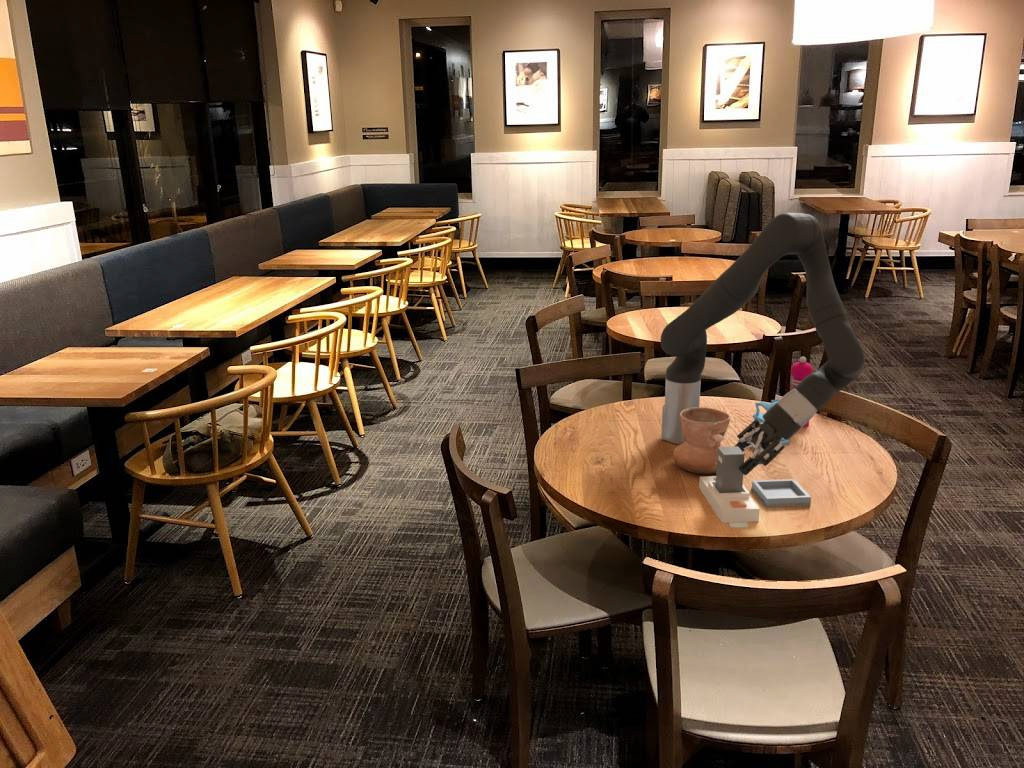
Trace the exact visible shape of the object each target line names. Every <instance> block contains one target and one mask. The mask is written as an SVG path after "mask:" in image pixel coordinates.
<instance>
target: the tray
mask: <svg viewBox="0 0 1024 768" xmlns="http://www.w3.org/2000/svg"><path fill="white" fill-rule="evenodd" d="M751 490H752V491H753V492H754V494H756V496H757V497H758V499H760V501H761V502H762V504H764V506H765V507H766V508H773V507H774V508H775V507H776V508H777V507H795V506H797V507H800V506H801V507H802V506H811V503H812V496H811V495H810V494H809V493H808V492H807V491H806V490H805V489H804V487H803V486H801V485H800V484H799V482H797V480H796V479H794V478H786V479H783V478H782V479H763V480H758V479H757V480H752V481H751Z"/></svg>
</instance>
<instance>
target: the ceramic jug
mask: <svg viewBox="0 0 1024 768" xmlns="http://www.w3.org/2000/svg"><path fill="white" fill-rule="evenodd" d="M680 421H681V426H682V432H683V438H684V443H682V444H678V445H677V446H676V447H675V449H674V450H673V453H672V457H673V458H672V459H673V460H674V462H675V464H676V465H677V466H679V468H681V469H683V470H684V471H687V472H691V473H695V474H703V475H710V474H716V468H717V451H718V447H726V446H725V445H723V444H722V443H721V442H722V441H724V439H725V438H724V437H725V435H726V432H727V431H728V428H729V425H730V423H731V422H730V421H731V416H730V414H729V413H727V412H726V411H724V410H723V411H722V410H719V409H716V408H709V407H705V406H704V407H703V406H699V407H692V408H688V409H684V410H682V411H681V412H680Z"/></svg>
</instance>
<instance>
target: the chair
mask: <svg viewBox="0 0 1024 768" xmlns="http://www.w3.org/2000/svg"><path fill="white" fill-rule="evenodd" d="M779 400H780V399H771V402H770V403H769V402H766V401H760V402H754V403H755V404H754V405H755V407H756V409H755V410H756V412H755V413H753V414H752V418H753V421H754V420H756V419H757V420H758V421H759V422H760V423H761V424H762V423H764V422H765V420H764V419H763V415H764V414H765V413H766V412H767V411H768V410H769V409H770V408H771V407H773V406H774V405H775V404H776V403H777V402H778V401H779ZM760 407H762V408H763V409H764V410H765V411H766V412H763V413H760ZM780 442H781V443H782V444H783V445H784V446H788V445H790V439H789V440H785V439H784V438H781V440H780Z"/></svg>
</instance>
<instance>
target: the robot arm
mask: <svg viewBox="0 0 1024 768" xmlns="http://www.w3.org/2000/svg"><path fill="white" fill-rule="evenodd" d="M787 255H796V256H797V257H798V259H799V260H800V262H801V264H802V266H803V269H804V272H805V276H806V295H805V296H806V297H805V298H806V306H807V310H808V313H809V316H810V318H811V321H812V323H813V326H814V328H815V331H816V332H817V334H818V337H819V338H820V339H821V341H822V342H821V343H822V345H823V347H824V350H825V353H826V355H827V358H828V359H827V360H826V362H825V363H824V364H823V365H822V366H820V367H819V368H818V369H817V370H816V371H813V373H811V374H809V375H808V376H807V377H805V378H804V379H803V380H802V381H801V382H800V383H799V384H798V385H797V386H796V387H795V388H794V389H793V388H792V389H791V390H790V391H788V392H787V393H785V394H784V395H783V396H782V397H781V398H780V399H778V400H779V401H778V402H777V403H776V404H775V405H774V406H773V407H771V408H770V409H769V410H768V411H766V412H764V413H765V414H764V415H763V419H764V420H765V422H764V423H760V422H759V421H758V420H757V419H756V420H754V419H753V421H752V422H751V423H750V424H748V425H747V426H746V427H745V428H744V429H743V430H742V431H741V432H740V433H738V434H737V436H736V437H737V443H736V444H734V446H733V447H735V446H738V447H739V448H740V449H741V450H742V452H743V453H744V452H745V451H746V449H749V448H751V447H753V448H754V451H753V453H752V455H751V456H750V457H748V459H746V460H744V463H743V464H742V465H741V466H740V467H739V470H740V471H741V472H742V473H743V476H747V475H748V474H749V473H750V472H752V471H753V470H754V468H756V467H757V466H758V465H759V466H761V465H763V466H764V467H766V466H768V465H769V464H770V463H771V462H772V461H773V460H774V459H775V458H776V457H777V456H778V455H779V454H780V453H781V452H782V451H783V450H784V449H785V447H786V445H783V444H782V443H781V442H780V440H781V438H783V439H785V440H789V441H790V439H791V438H792V437H793V436H795V435H796V433H798V432H799V431H800V430H801V429H802V427H803V426H804V425H805V424H806V423H807V422H808V421H809V422H810V421H811V419H812V418H813V417H814V416H815V415H816V413H818V411H819V410H821V409H822V408H823V407H824V406H825V405H826V404H827V403H828V402H829V401H830V400H831V399H833V397H834V396H835V395H836V394H837V393H839V392H840V391H842V390H843V389H844V388H846V387H847V386H848V385H849V384H851V383H853V381H854V380H855V379H857V378H858V377H859V376H861V374H862V373H863V371H864V369H865V365H866V356H865V352H864V350H863V348H862V345H861V344H860V342H859V340H858V339H859V338H858V337H857V335H856V333H855V331H854V330H853V328H852V326H851V322H850V319H849V317H848V314H847V312H846V309H845V306H844V304H843V302H842V299H841V297H840V295H839V292H838V288H837V287H836V284H835V280H834V277H833V273H832V269H831V264H830V260H829V256H828V251H827V247H826V241H825V238H824V234H823V230H822V228H821V224H820V223H819V221H818V219H817V218H816V217H815V216H813V215H811V214H809V213H808V214H807V213H801V212H783V213H780V214H777V215H775V216H774V217H773V218H772V219H771V220H770V221H769V222H768V223H767V224H766V226H765V227H764V228H763V229H762V231H761V232H760V233H759V234H758V236H757V237H756V238H755V239H754V241H753V242H751V244H750V246H748V248H747V249H746V250H745V251H744V252H743V253H742V254H741V255H740V256H739V257H738V258H737V259H735V261H734V262H733V263H732V264H731V265H730V266H729V267H728V268H727V269H725V270H724V271H723V272H722V273H721V274H720V275H719V276H718V277H717V278H716V279H715V280H714V281H713V282H712V284H710V286H709V287H708V288H707V289H705V291H704V292H703V293H702V294H701V295H700V296H699V297H698V298H697V299H696V300H695V301H694V302H692V304H691V305H690V306H689V307H688V308H687V309H686V310H684V311H683V312H682V313H681V314H679V315H678V316H677V317H675V318H674V319H673V320H671V322H669V323H668V324H666V326H665V327H664V329H663V330H662V332H661V335H660V346H661V348H662V351H664V353H665V354H667V355H668V356H670V357H671V356H672V357H675V358H674V360H673V361H672V362H671V364H669V365H668V366H667V368H666V369H665V370H666V371H665V388H664V389H665V391H664V404H663V406H662V410H661V435H660V436H661V437H660V438H661V439H660V440H664V441H666V442H668V443H672V444H674V445H675V444H676V445H680V444H682V443H684V438H683V432H682V426H681V421H680V412H681V411H682V410H684V409H688V408H692V407H699V408H700V401H701V399H700V398H701V381H702V379H701V378H702V373H703V371H704V369H705V367H706V365H705V364H706V356H707V346H708V334H707V330H708V329H710V328H711V327H713V326H715V325H716V324H718V323H721V322H722V321H723V320H725V319H727V318H729V317H730V316H732V315H733V314H735V313H736V312H738V311H739V310H741V308H743V307H744V306H745V305H746V304H747V303H749V301H750V300H751V299H752V298H753V297H754V296H755V295H756V294H757V292H758V290H759V288H760V286H761V281H762V279H763V276H764V275H765V273H766V272H767V270H768V269H769V268H771V266H773V265H774V264H775V263H776V262H777V261H779V260H780V259H781V258H782V257H784V256H787Z"/></svg>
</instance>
